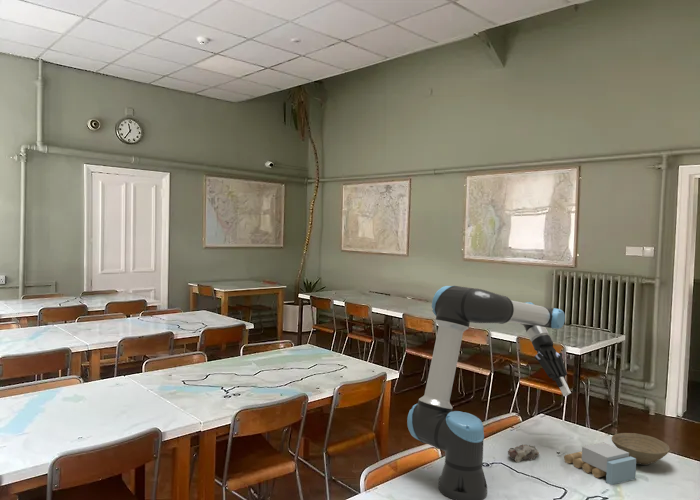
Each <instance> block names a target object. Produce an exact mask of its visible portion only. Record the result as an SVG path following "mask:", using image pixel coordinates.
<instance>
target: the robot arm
mask: <svg viewBox="0 0 700 500" xmlns="http://www.w3.org/2000/svg"><path fill="white" fill-rule="evenodd" d="M431 309H432V313H433V315H434V316H435V323H436V324H437V327H438V328H437V332H436V338H435V343H434V348H433V352H432V357H431V361H430V366H429V371H428V376H427V379H426V380H427V382H426V385H425V390H424V395H423V396H421V397H420V398H418V401H417V403H416V404H414V405H412V407H411V409H409V412H408V414H407V418H406V420H407V422H406V424H407V428H408V431H409V433H410V435H411V436H412V437H413V438H414V439H416V440H417V441H420V443H424V444H426V445H430V446H431V447H433V448H436V449H438V450H441V451H443V452H444V453H445V454H444V465H443V467H442V470H441V474H440V476H439V477H438V490H439V492H440V493H441V494H442V495H444V496H445V497H447V498H449V499H452V500H484V499H485V498H487V496H488V484H487V480H486V477H485V474H484V473H485V472H484V469H483V463H484V462H483V459H484V439H485V433H484V431H485V430H484V424H483V422H482V420H481V419H480V418H479V417H478V416H476V415H474V414H472V413H469V412H466V411H465V412H463V411H459V410H453V405H452V404H451V402H450V400H451V395H452V390H453V384H454V380H455V376H456V369H457V365H458V360H459V354H460V351H461V345H462V341H463V336H464V332H465V331H467V330H469V328H470V324H472V323H473V324H499V325H500V324H501V325H504V324H506V323H514V324H520V325H522V326H523V328H524V329H525V331H526V332H525V333H526V334H527V336H528V338H529V340H530V342H531V344H532V346H533V348H534V351H536V353H537V354H535V356H534V359H535V361H537V362H538V363H539V365H540V367H542V369H543V370H544V372H545V374H546V375H547V377H548V378H549V379H551V381H555V383H556V385H557V387H558V388H559V390H560V392H561V394H562V396H563V397H567V396H568V395H570V394H572V392H571V390H570V388H569V385H568V382H567V380H566V378H565V377H566V376H567V375H568V373H567V372H568V371H567V368H566V366H565V362H564V358H563V353H562V352H557V350H556V349H555V348H554V341H553V339H552V337H551V336H550V333H549V331H548V329H547V328H549V329H556V330H560V329H562V328H563V327H564V324H565V321H566V315H565V312H564V311H563V310H562V308H561V309H560V308H556V307H547V306H543V305H537V304H534V303H533V302H531V301H526V302H521V301H517V300H511V298H509V297H508V296H505V295H503V294H498V293H495V292H492V291H488V290H485V289H481V288H472V287H467V286H458V285H444V286H442V287H441V288H439V289H437V291H436V292H435V294H434V296H433V297H432V300H431Z"/></svg>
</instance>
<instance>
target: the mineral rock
mask: <svg viewBox="0 0 700 500" xmlns="http://www.w3.org/2000/svg"><path fill="white" fill-rule="evenodd" d="M507 453H508V456H509V457H510V459H513V460H514V461H515V463H519V462H521V461H528V460H531V461H532V460H535V459H536V457H537V456H539V455H540V452H539V451H538V449H537V448H536V446H535V445H530V444H529V445H528V444H520V445H518V446H515V447H514V448H512V447H511V448H509V449H508V450H507Z"/></svg>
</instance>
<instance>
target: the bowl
mask: <svg viewBox="0 0 700 500" xmlns="http://www.w3.org/2000/svg"><path fill="white" fill-rule="evenodd" d="M611 441H612V443H613V445H614V447H616V448H619V449H621V450H624V451H626V452H628V453H629V457H630V456H631V457H633V458H636V465H642V466H643V465H651V464H655V463H656V462H657V461H660V460H661V459H663V458H664V457H665V456H667V454H669V452H670V450H671V449H670V446H669V445H668V443H666V442H665V441H663V440H660V439H658V438H656V437H654V436H650V435H645V434H642V433H635V432H633V433H632V432H620V433H616V434H614V435H612V436H611Z"/></svg>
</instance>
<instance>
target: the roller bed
mask: <svg viewBox="0 0 700 500" xmlns="http://www.w3.org/2000/svg"><path fill="white" fill-rule="evenodd" d="M563 460H564V462H565V463H566V464H567V465H568V464H572V465H573V466H574V468H576V469H580V468H582V470H583V472H584V473H585V474H586V473H587V474H588V473H591V474H592V475H593V477H594V478H603V477H606V472H605V471H603V470H601V469H598V468H596V467H594V466H592V465H590V464H588V463H586V462H584V461H582V451H578V452H573V453H567V454H565V455H564V456H563Z"/></svg>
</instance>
